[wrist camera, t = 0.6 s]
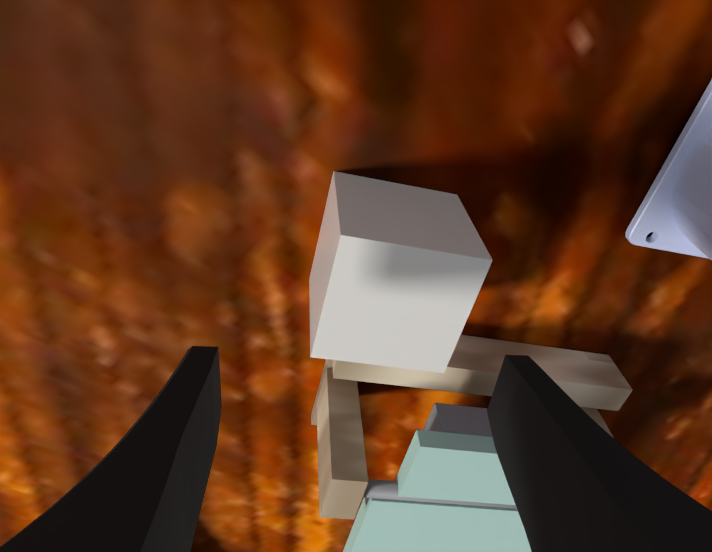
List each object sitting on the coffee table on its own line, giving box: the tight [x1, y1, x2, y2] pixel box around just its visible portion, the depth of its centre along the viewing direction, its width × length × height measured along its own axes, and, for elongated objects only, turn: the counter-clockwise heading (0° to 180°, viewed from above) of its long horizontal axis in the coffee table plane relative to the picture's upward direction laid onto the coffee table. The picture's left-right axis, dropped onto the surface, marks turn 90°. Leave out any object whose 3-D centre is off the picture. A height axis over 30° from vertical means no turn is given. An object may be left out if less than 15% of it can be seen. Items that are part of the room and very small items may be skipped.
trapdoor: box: [343, 403, 531, 552], centre depth 25 cm, size 11×14×2 cm
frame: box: [311, 335, 633, 519], centre depth 25 cm, size 14×6×7 cm, turn 77°
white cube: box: [309, 171, 493, 373], centre depth 20 cm, size 5×5×5 cm
